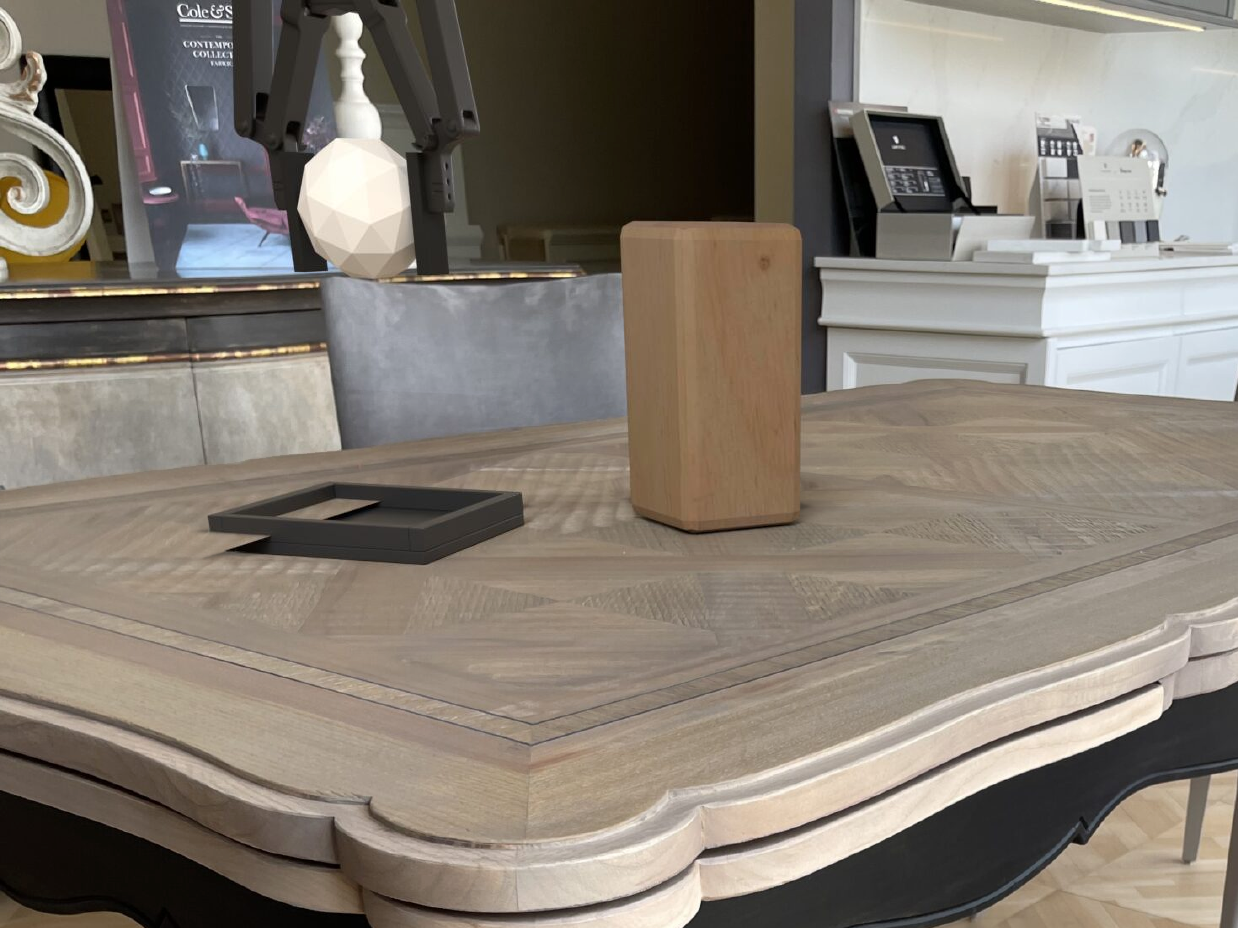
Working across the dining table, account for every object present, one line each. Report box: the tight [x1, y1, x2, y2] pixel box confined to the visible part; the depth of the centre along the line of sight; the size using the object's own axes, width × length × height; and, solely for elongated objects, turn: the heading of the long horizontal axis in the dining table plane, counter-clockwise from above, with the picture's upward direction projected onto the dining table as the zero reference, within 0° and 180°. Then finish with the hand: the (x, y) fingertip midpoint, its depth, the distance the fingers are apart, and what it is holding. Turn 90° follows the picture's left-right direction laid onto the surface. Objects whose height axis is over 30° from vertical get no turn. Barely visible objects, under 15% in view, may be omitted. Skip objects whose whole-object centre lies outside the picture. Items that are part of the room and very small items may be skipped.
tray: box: [207, 480, 525, 565], centre depth 113 cm, size 16×16×2 cm
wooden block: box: [619, 220, 803, 534], centre depth 116 cm, size 10×10×20 cm
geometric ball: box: [297, 137, 416, 280], centre depth 97 cm, size 8×8×8 cm
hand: (371, 272), depth 99 cm, fingers closed on geometric ball, 8 cm apart
